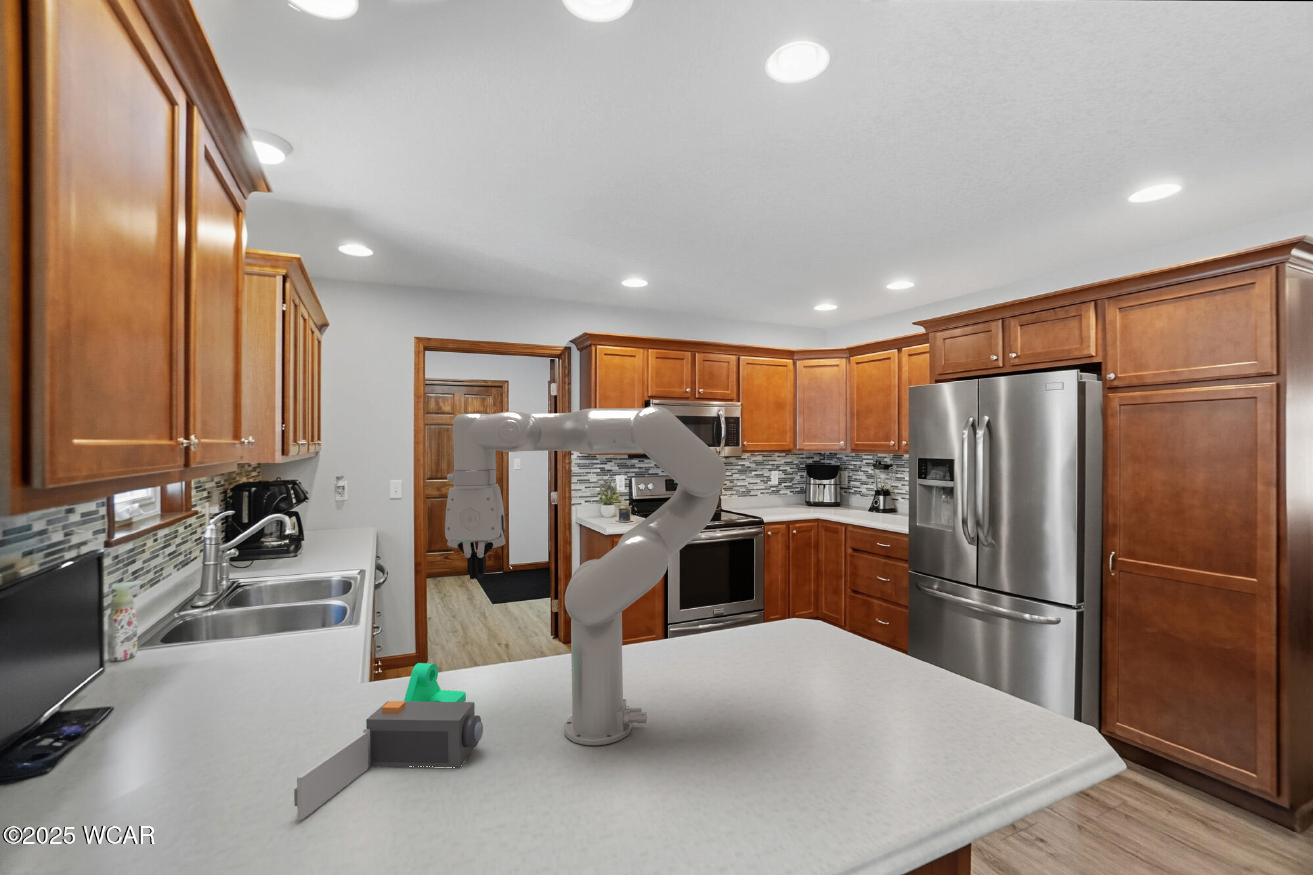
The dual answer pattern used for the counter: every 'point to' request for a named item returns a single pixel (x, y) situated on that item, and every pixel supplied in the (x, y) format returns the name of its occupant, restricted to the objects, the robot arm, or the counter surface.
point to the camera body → (423, 734)
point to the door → (332, 774)
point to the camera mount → (429, 686)
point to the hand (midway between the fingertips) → (477, 577)
